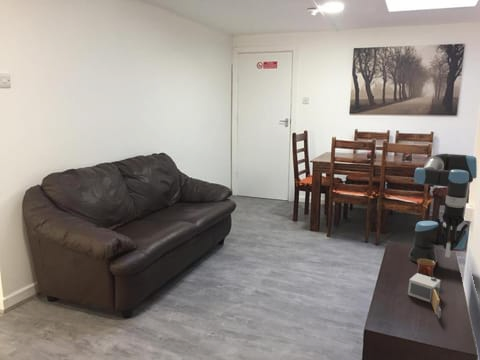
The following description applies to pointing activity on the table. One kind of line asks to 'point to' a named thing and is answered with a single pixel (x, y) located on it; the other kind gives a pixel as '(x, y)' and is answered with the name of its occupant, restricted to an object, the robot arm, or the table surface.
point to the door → (435, 302)
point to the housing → (423, 286)
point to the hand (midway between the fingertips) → (447, 256)
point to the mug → (426, 267)
